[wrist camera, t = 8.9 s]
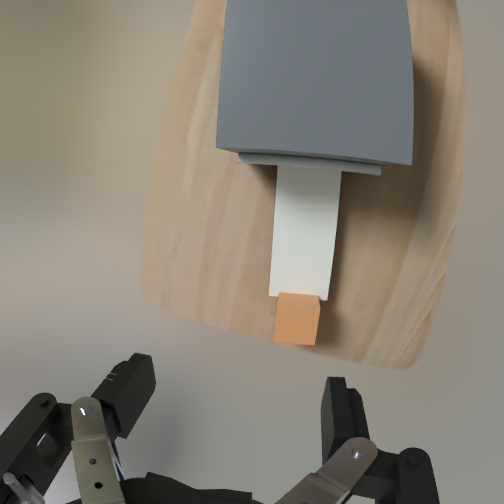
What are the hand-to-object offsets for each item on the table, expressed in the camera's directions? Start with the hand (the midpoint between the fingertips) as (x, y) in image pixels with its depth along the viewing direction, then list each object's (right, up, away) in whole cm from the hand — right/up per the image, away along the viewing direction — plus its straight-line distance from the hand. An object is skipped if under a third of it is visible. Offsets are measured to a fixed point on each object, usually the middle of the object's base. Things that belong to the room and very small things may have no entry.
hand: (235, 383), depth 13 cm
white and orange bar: (+6, +8, +19) cm, 21 cm away
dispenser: (+7, +23, +15) cm, 28 cm away
